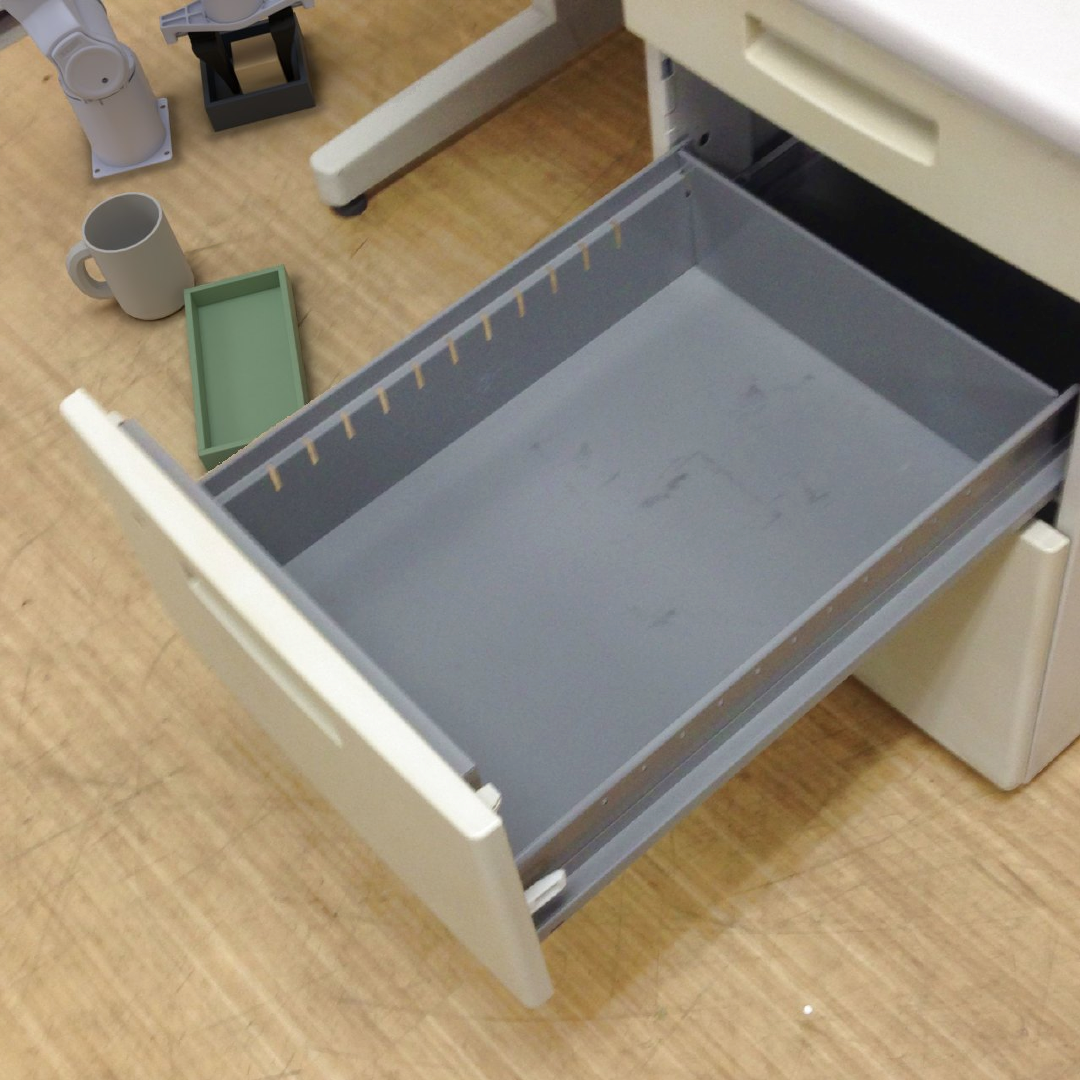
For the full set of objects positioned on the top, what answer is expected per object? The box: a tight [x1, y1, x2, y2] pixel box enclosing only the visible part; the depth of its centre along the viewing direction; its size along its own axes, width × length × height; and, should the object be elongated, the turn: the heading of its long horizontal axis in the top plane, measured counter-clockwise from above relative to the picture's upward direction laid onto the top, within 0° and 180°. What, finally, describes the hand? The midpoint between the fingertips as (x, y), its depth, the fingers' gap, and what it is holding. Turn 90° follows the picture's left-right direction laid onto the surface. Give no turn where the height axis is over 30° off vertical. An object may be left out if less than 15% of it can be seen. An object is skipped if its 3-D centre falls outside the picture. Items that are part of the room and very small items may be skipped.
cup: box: [65, 191, 195, 321], centre depth 134 cm, size 7×10×9 cm
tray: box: [184, 263, 310, 473], centre depth 130 cm, size 19×9×2 cm, turn 12°
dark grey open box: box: [198, 11, 316, 133], centre depth 151 cm, size 11×10×4 cm
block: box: [231, 33, 289, 94], centre depth 149 cm, size 4×4×4 cm
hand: (262, 80), depth 150 cm, fingers open, 5 cm apart
